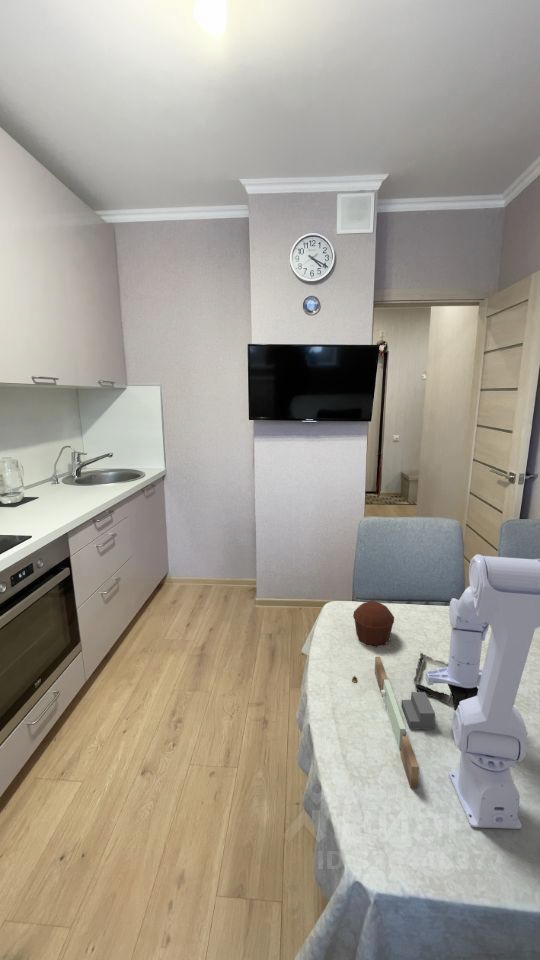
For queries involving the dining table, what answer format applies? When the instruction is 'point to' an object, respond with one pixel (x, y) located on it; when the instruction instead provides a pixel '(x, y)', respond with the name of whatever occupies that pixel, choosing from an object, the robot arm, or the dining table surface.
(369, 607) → the muffin
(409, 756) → the brown wooden plank
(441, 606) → the dining table surface
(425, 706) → the grey stepped block
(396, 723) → the door
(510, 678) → the robot arm
